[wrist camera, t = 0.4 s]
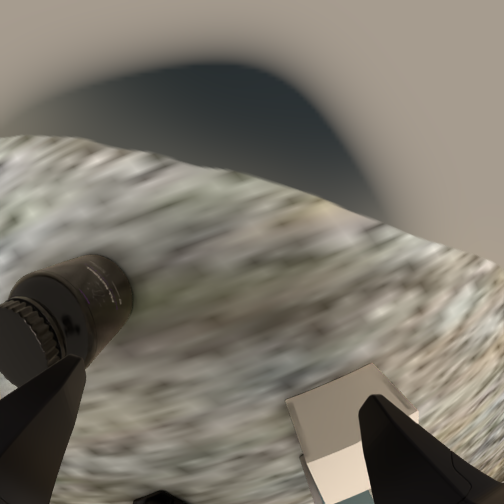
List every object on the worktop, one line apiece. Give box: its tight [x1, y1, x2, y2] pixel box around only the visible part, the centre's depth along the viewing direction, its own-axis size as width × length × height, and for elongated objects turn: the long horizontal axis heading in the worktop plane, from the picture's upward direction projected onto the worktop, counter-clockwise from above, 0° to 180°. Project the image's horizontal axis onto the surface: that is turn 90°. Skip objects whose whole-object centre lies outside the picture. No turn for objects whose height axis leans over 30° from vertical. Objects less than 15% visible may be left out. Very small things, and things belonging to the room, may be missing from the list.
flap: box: [300, 455, 374, 504], centre depth 23 cm, size 9×2×8 cm, turn 50°
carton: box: [285, 363, 418, 504], centre depth 22 cm, size 9×8×8 cm
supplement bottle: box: [0, 255, 132, 388], centre depth 16 cm, size 7×7×12 cm
